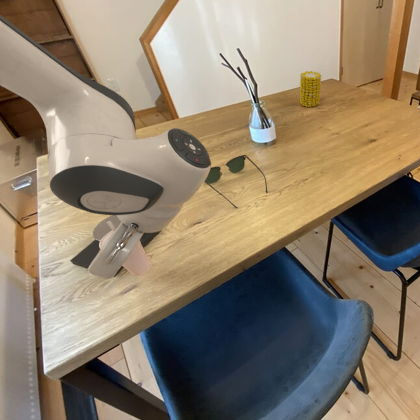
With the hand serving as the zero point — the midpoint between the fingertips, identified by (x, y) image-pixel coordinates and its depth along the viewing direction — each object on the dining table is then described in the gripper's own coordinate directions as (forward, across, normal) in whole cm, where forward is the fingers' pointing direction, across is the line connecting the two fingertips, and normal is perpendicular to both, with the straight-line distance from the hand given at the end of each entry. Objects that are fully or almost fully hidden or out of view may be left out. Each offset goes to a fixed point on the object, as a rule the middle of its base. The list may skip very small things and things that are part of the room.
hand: (119, 244), depth 54 cm
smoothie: (+5, 0, -6) cm, 8 cm away
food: (-18, +96, -32) cm, 103 cm away
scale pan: (+13, +12, +2) cm, 18 cm away
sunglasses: (-2, +32, -18) cm, 36 cm away
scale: (+15, +9, 0) cm, 17 cm away
